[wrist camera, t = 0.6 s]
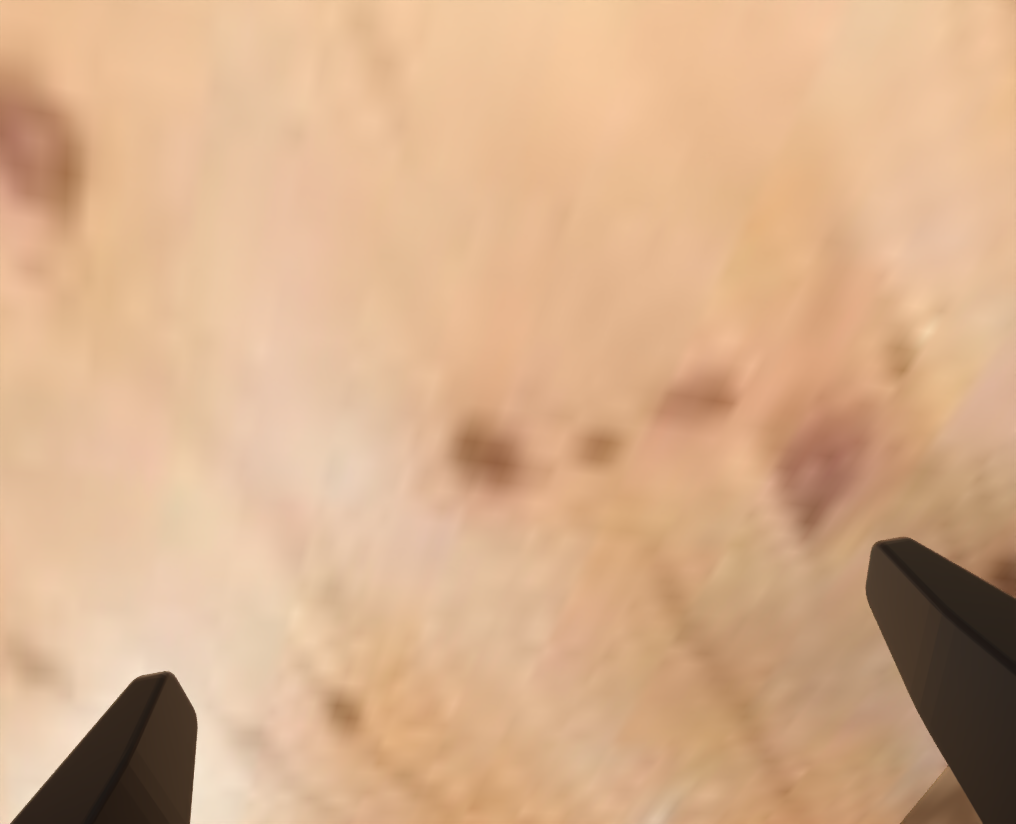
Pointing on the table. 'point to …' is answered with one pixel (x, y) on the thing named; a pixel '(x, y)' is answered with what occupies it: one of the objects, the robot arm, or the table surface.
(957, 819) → the tan rectangular beam
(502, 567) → the table surface
